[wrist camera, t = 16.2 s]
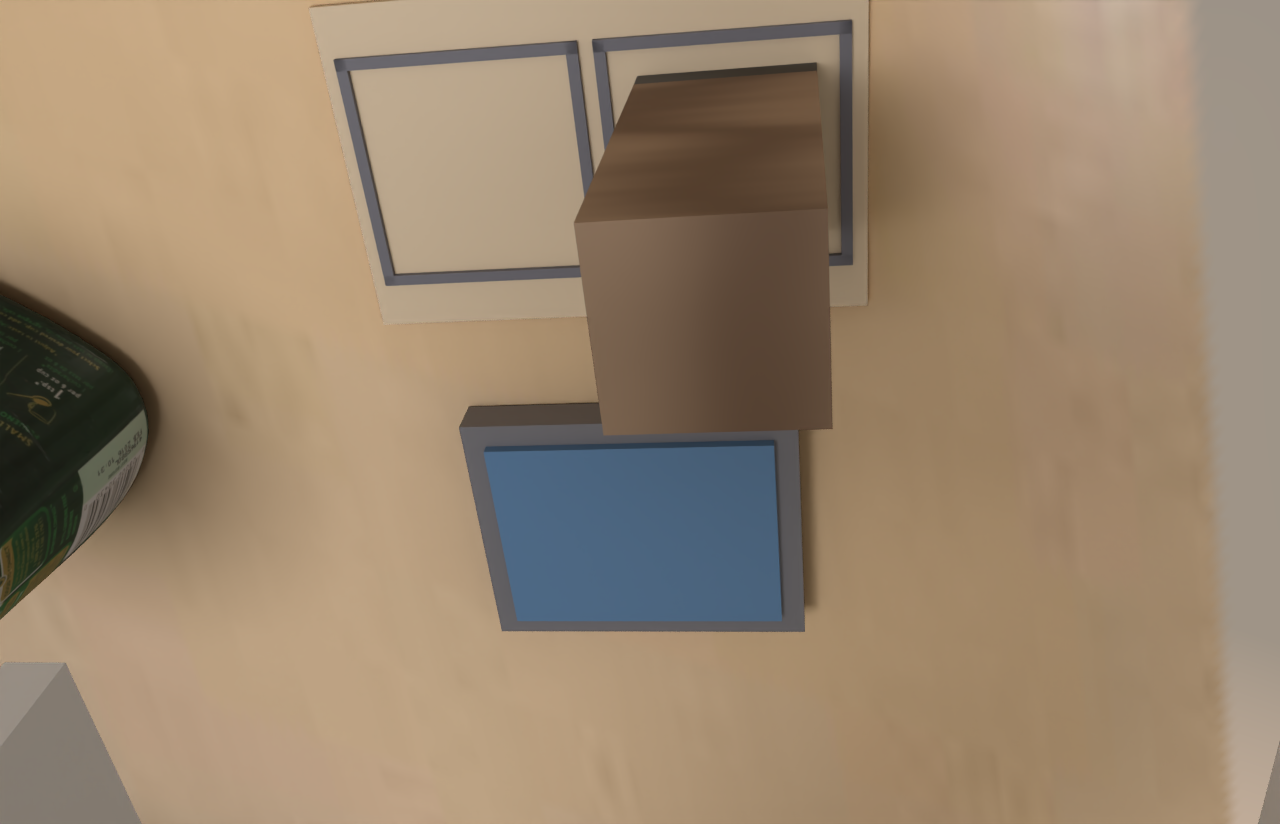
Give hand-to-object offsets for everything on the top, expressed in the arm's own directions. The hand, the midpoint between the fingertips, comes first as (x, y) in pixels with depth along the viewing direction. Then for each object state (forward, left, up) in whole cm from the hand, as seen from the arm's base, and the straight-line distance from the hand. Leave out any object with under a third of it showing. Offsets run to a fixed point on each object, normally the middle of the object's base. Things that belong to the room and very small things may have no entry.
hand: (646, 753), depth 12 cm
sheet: (-3, 0, -20) cm, 21 cm away
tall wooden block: (0, 0, -20) cm, 20 cm away
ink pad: (-3, -11, -20) cm, 24 cm away
